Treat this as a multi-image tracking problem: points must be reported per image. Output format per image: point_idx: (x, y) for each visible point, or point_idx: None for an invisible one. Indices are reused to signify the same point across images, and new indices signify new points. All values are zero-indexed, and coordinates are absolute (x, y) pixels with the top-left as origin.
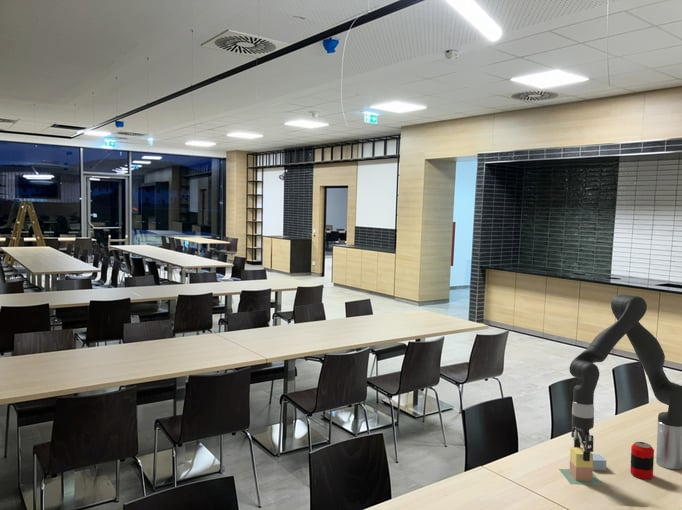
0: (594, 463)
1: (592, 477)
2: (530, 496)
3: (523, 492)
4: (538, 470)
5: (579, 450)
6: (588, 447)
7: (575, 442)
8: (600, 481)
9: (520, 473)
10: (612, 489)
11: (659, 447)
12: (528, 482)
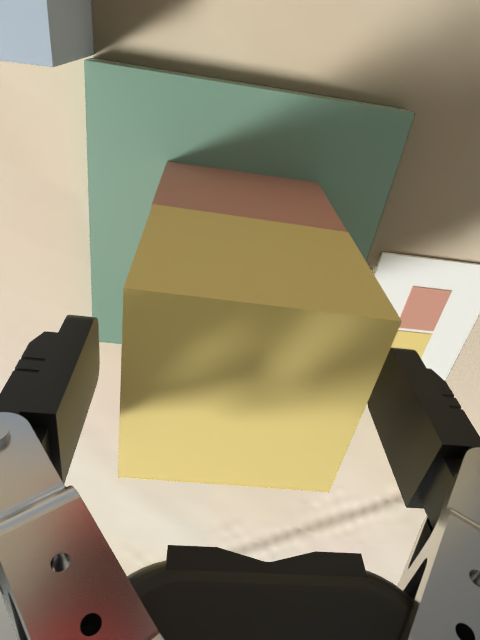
0: (59, 3)
1: (257, 140)
2: (375, 539)
3: (334, 549)
4: (93, 433)
5: (228, 426)
6: (462, 506)
7: (65, 472)
8: (346, 106)
9: (141, 514)
10: (457, 36)
11: None
12: (244, 512)
